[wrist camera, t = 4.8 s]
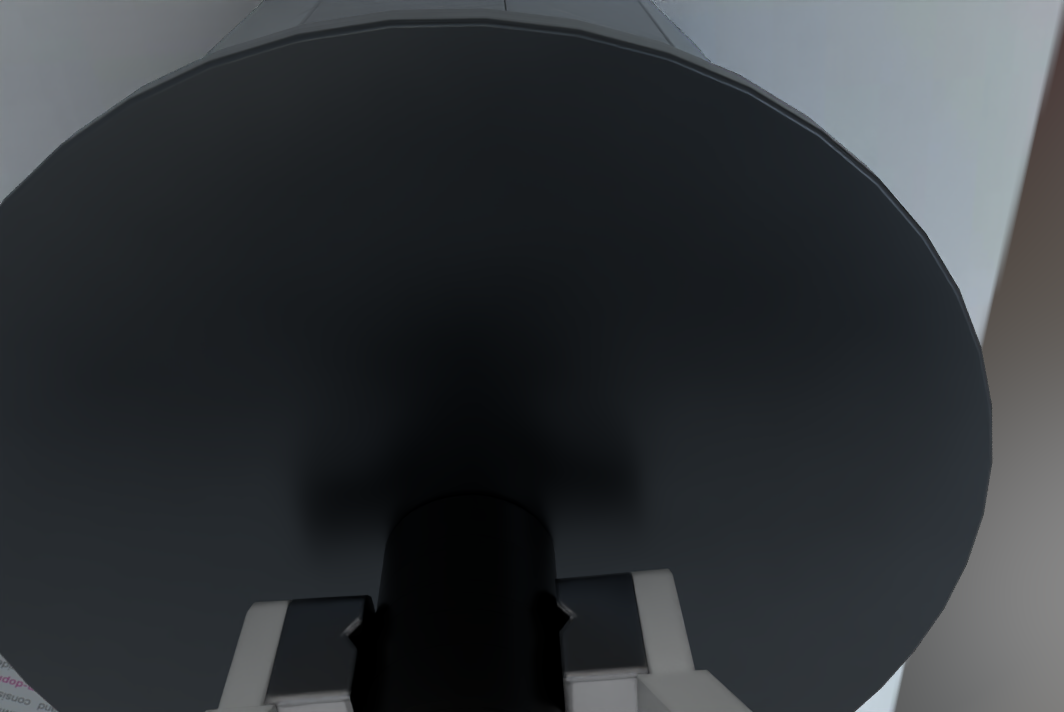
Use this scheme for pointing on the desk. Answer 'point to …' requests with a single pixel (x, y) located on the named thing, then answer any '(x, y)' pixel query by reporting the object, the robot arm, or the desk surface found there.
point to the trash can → (603, 3)
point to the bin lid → (473, 372)
